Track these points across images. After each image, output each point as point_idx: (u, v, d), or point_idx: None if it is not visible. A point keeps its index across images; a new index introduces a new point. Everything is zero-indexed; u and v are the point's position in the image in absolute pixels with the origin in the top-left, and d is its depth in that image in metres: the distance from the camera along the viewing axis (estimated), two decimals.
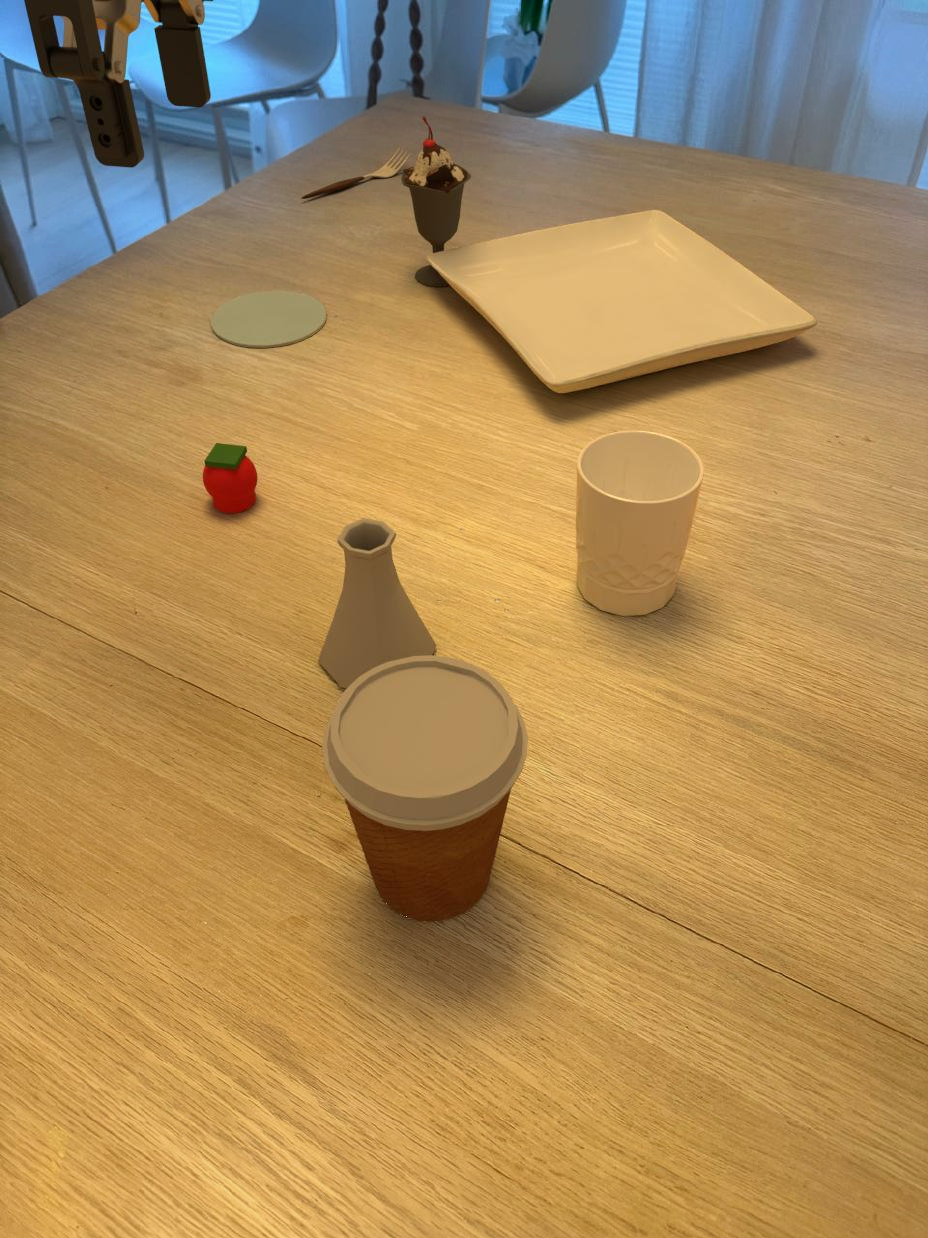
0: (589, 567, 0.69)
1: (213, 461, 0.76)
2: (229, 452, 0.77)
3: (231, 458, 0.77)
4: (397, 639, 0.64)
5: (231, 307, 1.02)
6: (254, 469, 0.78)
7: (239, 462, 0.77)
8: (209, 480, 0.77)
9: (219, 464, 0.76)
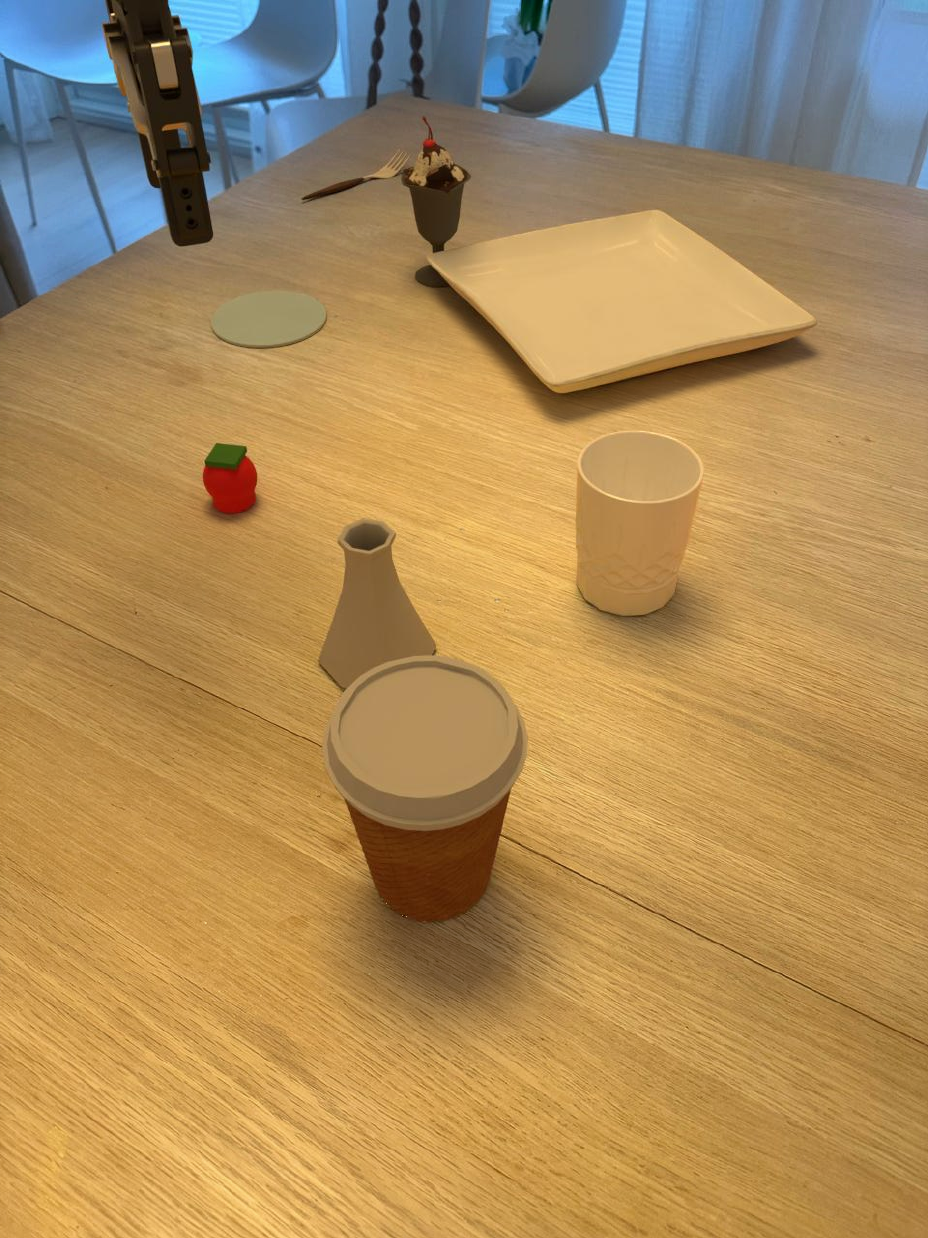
0: (589, 567, 0.69)
1: (213, 461, 0.76)
2: (229, 452, 0.77)
3: (231, 458, 0.77)
4: (397, 639, 0.64)
5: (231, 307, 1.02)
6: (254, 469, 0.78)
7: (239, 462, 0.77)
8: (209, 480, 0.77)
9: (219, 464, 0.76)
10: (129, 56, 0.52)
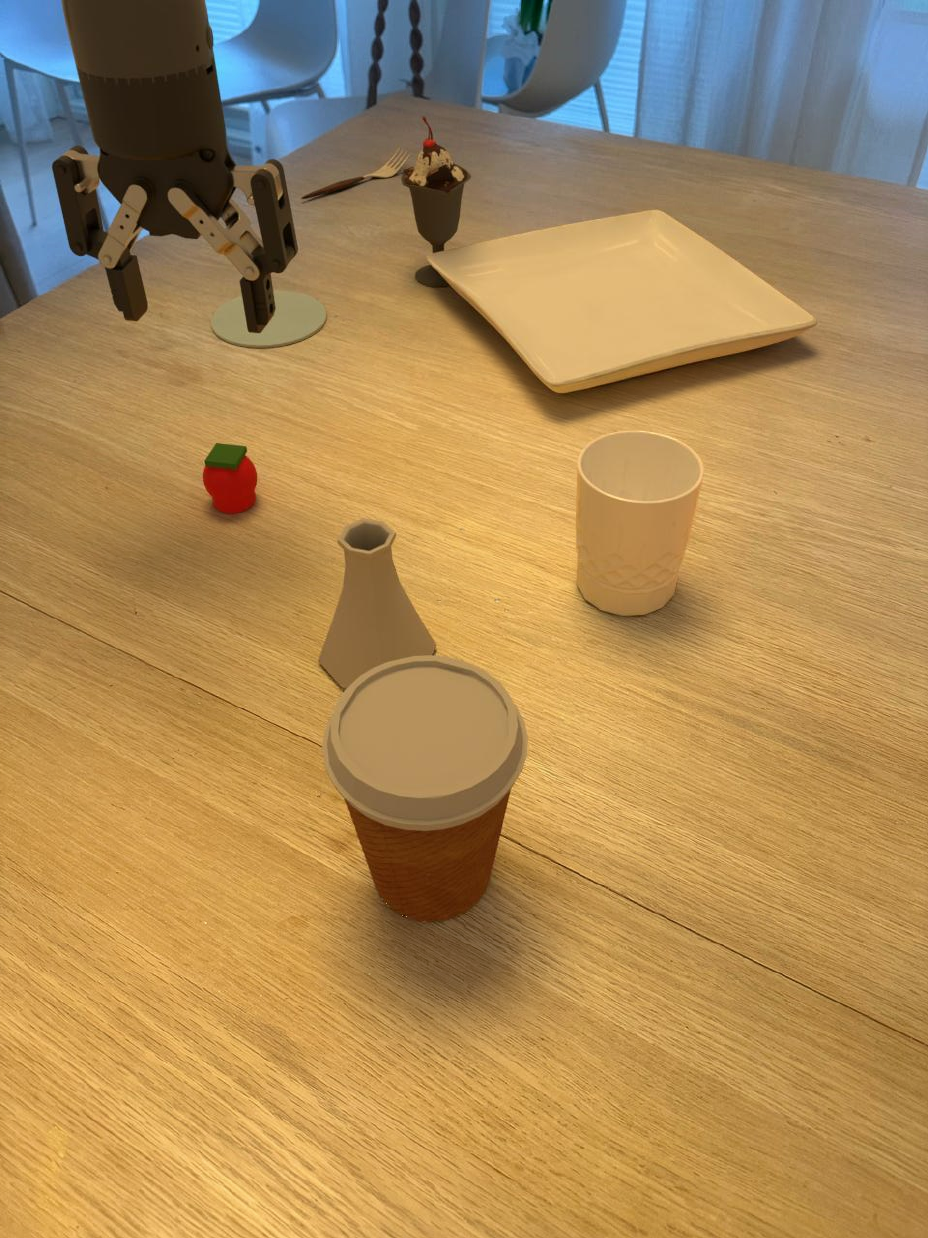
0: (589, 567, 0.69)
1: (213, 461, 0.76)
2: (229, 452, 0.77)
3: (231, 458, 0.77)
4: (397, 639, 0.64)
5: (231, 307, 1.02)
6: (254, 469, 0.78)
7: (239, 462, 0.77)
8: (209, 480, 0.77)
9: (219, 464, 0.76)
10: None
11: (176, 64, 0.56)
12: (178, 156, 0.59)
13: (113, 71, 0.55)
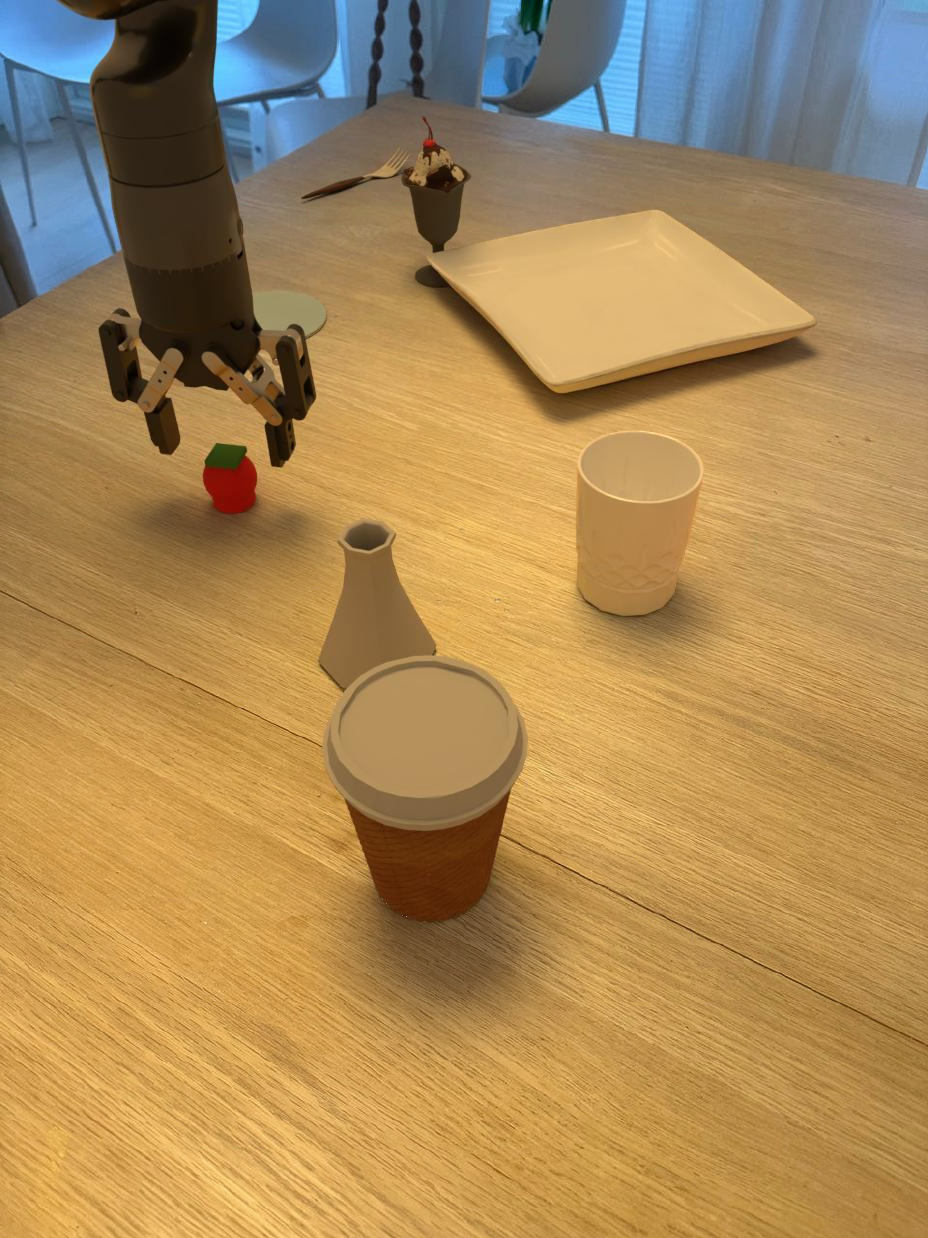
0: (589, 567, 0.69)
1: (213, 461, 0.76)
2: (229, 452, 0.77)
3: (231, 458, 0.77)
4: (397, 639, 0.64)
5: None
6: (254, 469, 0.78)
7: (239, 462, 0.77)
8: (209, 480, 0.77)
9: (219, 464, 0.76)
10: (226, 357, 0.70)
11: (211, 256, 0.64)
12: (212, 329, 0.67)
13: (157, 264, 0.63)
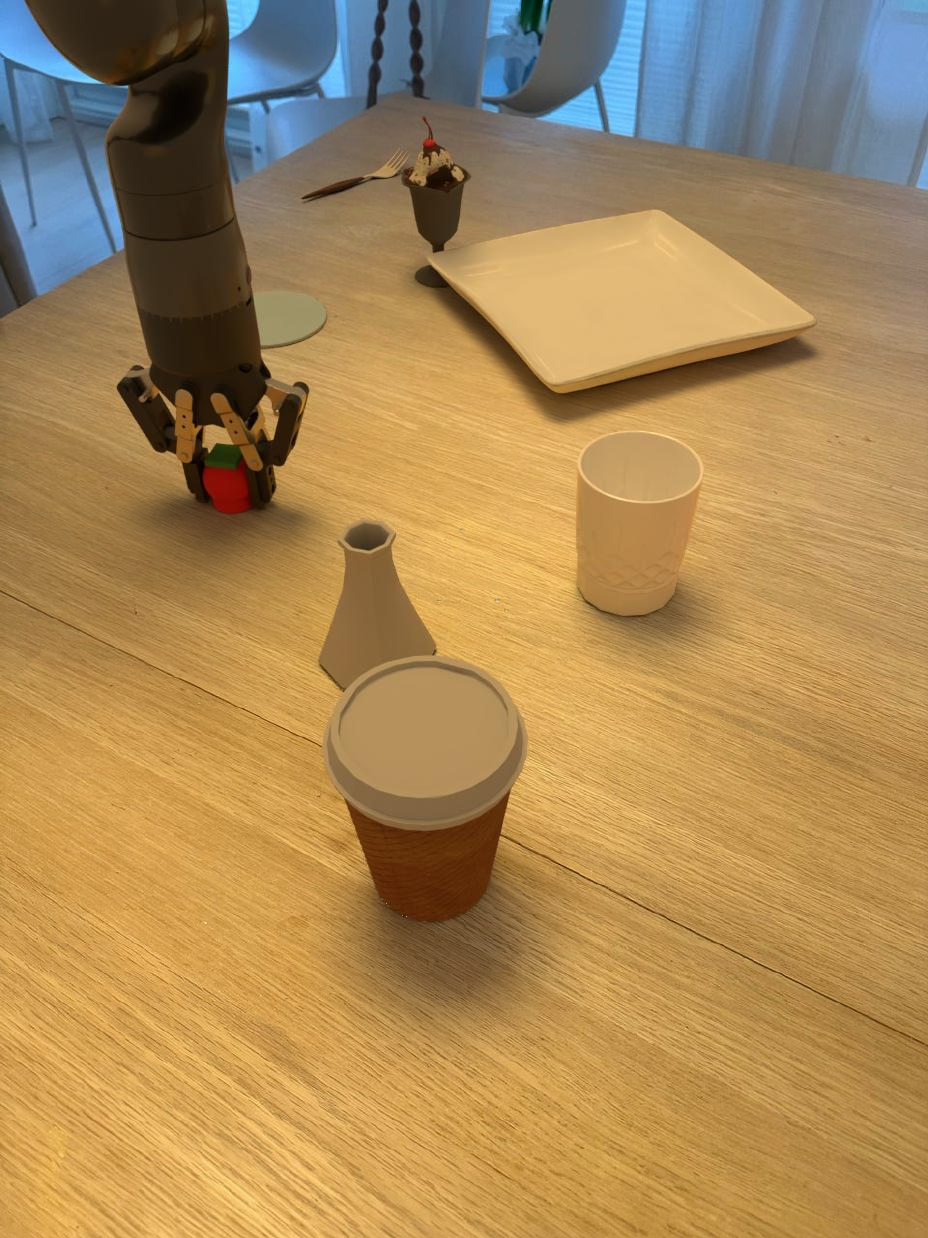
0: (589, 567, 0.69)
1: (213, 461, 0.76)
2: (229, 452, 0.77)
3: (231, 458, 0.77)
4: (397, 638, 0.64)
5: None
6: None
7: (239, 462, 0.77)
8: (209, 480, 0.77)
9: (219, 464, 0.76)
10: (234, 398, 0.72)
11: (221, 304, 0.66)
12: (221, 372, 0.69)
13: (168, 312, 0.66)
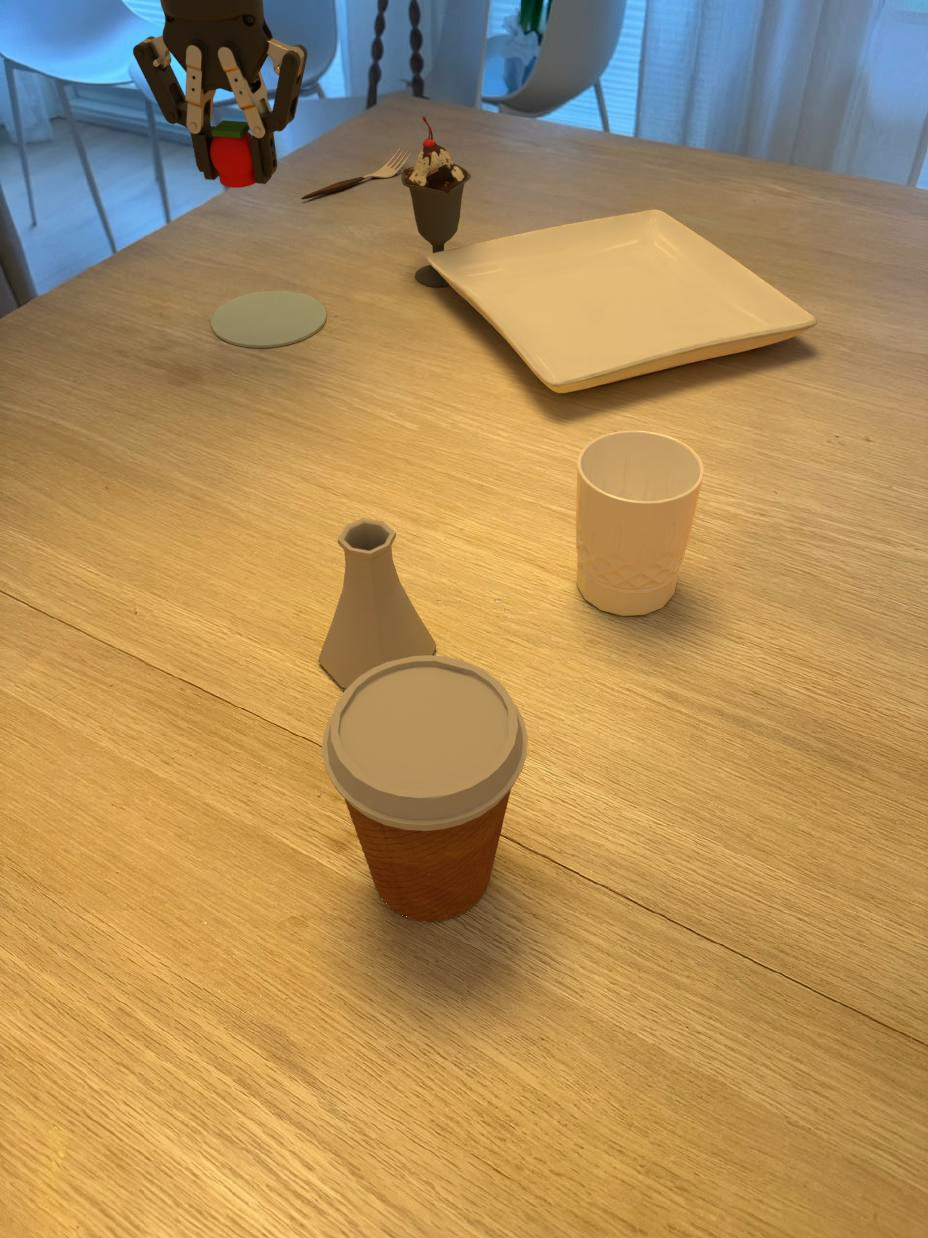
0: (589, 567, 0.69)
1: (220, 130, 0.84)
2: (234, 125, 0.85)
3: (236, 128, 0.84)
4: (397, 638, 0.64)
5: (231, 307, 1.02)
6: None
7: (243, 133, 0.84)
8: (216, 150, 0.85)
9: (225, 133, 0.84)
10: (239, 55, 0.80)
11: None
12: (227, 18, 0.77)
13: None
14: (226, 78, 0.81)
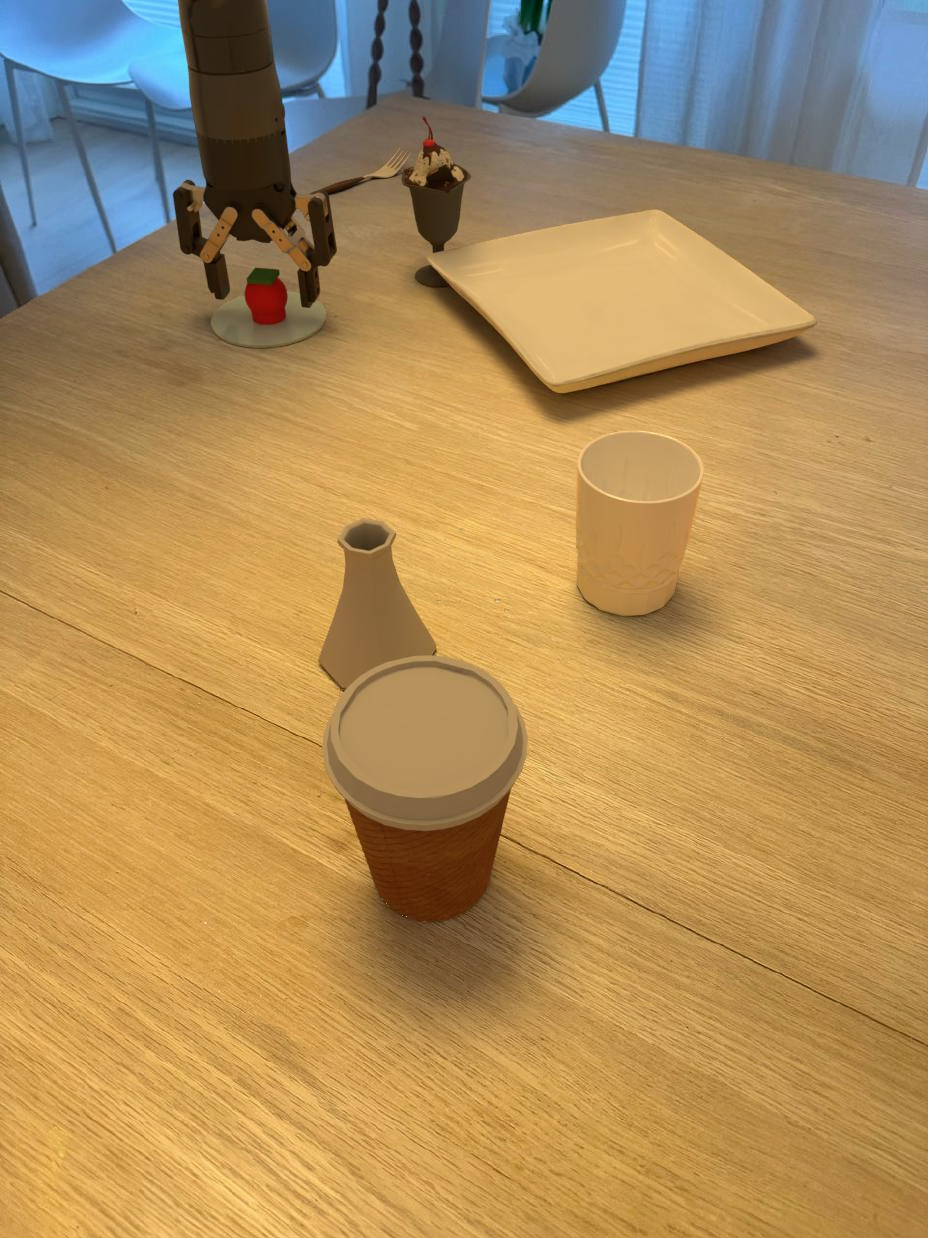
0: (589, 567, 0.69)
1: (254, 278, 0.97)
2: (266, 273, 0.98)
3: (267, 276, 0.97)
4: (397, 638, 0.64)
5: (231, 307, 1.02)
6: (285, 288, 0.99)
7: (274, 280, 0.98)
8: (250, 294, 0.98)
9: (258, 281, 0.97)
10: (269, 215, 0.93)
11: (263, 130, 0.86)
12: (261, 188, 0.89)
13: (223, 135, 0.86)
14: (258, 232, 0.94)
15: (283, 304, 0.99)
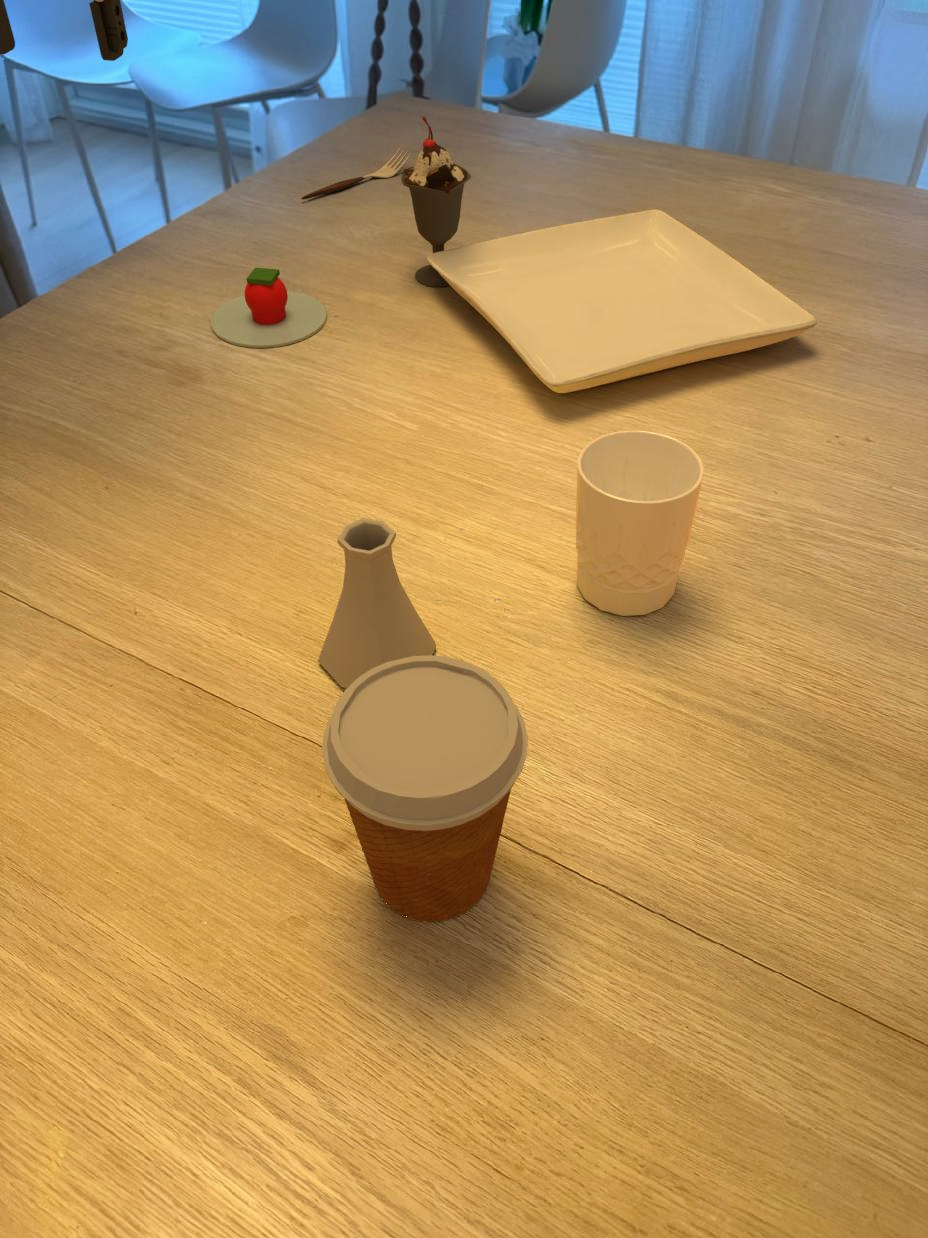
0: (589, 567, 0.69)
1: (254, 278, 0.97)
2: (266, 273, 0.98)
3: (267, 276, 0.97)
4: (397, 638, 0.64)
5: (231, 307, 1.02)
6: (285, 288, 0.99)
7: (274, 280, 0.98)
8: (250, 294, 0.98)
9: (258, 281, 0.97)
10: None
11: None
12: None
13: None
14: None
15: (283, 304, 0.99)
